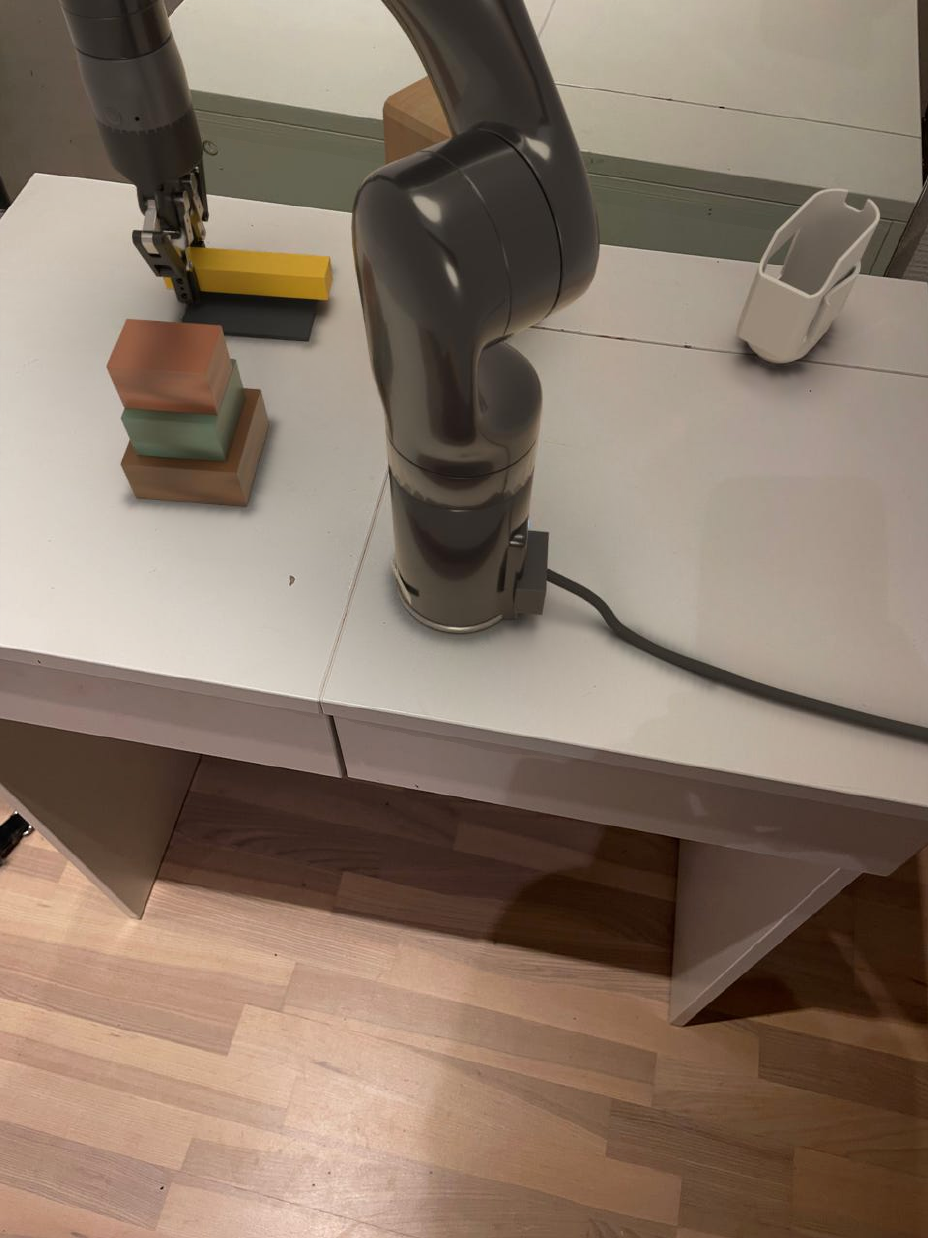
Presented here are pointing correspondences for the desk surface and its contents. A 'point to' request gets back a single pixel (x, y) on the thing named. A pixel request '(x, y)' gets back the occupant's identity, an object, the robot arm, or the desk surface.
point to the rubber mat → (255, 315)
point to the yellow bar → (261, 273)
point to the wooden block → (413, 121)
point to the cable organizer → (807, 276)
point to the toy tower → (186, 414)
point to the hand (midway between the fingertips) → (195, 287)
